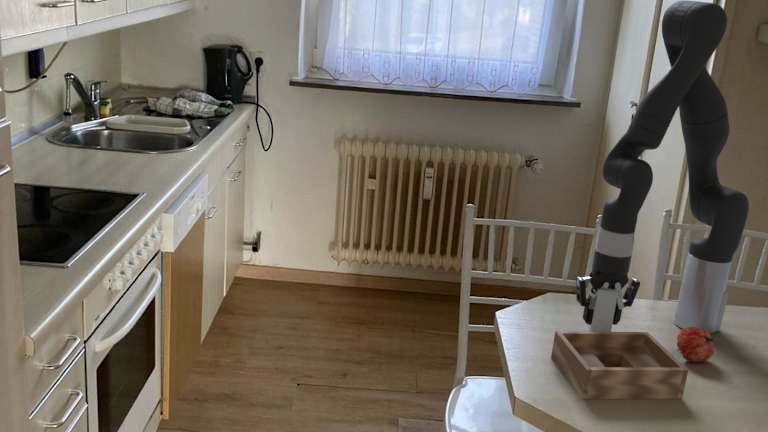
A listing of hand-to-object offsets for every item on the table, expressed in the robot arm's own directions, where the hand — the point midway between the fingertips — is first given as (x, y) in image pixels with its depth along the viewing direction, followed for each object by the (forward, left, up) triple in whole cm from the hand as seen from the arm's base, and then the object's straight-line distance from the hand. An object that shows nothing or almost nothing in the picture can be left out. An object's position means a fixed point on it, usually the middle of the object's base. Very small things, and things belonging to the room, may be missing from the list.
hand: (600, 322), depth 167 cm
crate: (+4, +17, -4) cm, 18 cm away
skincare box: (0, 0, -4) cm, 4 cm away
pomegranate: (-17, +9, -4) cm, 20 cm away
